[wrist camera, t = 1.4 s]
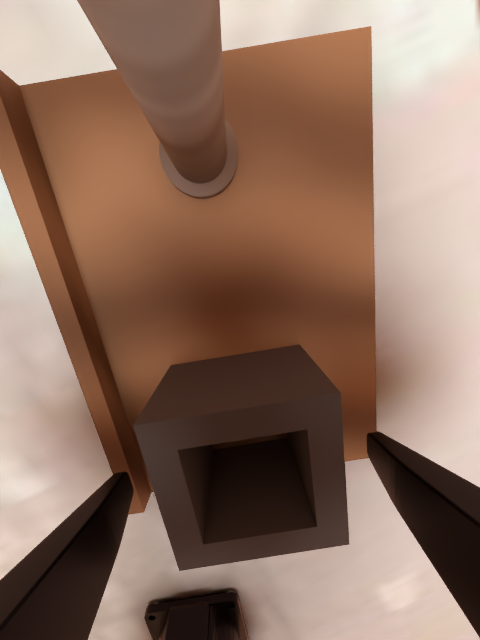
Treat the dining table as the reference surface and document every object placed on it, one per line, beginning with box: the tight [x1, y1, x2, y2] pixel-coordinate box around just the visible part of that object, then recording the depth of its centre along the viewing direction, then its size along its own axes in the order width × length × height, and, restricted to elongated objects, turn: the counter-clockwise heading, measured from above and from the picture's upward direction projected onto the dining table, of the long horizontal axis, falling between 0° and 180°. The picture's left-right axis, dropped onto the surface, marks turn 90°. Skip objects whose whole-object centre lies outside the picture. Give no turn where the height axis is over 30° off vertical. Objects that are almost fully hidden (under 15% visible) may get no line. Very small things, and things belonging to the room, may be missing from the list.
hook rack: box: [0, 0, 376, 515], centre depth 7 cm, size 18×13×7 cm
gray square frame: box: [133, 344, 349, 571], centre depth 9 cm, size 6×6×4 cm
